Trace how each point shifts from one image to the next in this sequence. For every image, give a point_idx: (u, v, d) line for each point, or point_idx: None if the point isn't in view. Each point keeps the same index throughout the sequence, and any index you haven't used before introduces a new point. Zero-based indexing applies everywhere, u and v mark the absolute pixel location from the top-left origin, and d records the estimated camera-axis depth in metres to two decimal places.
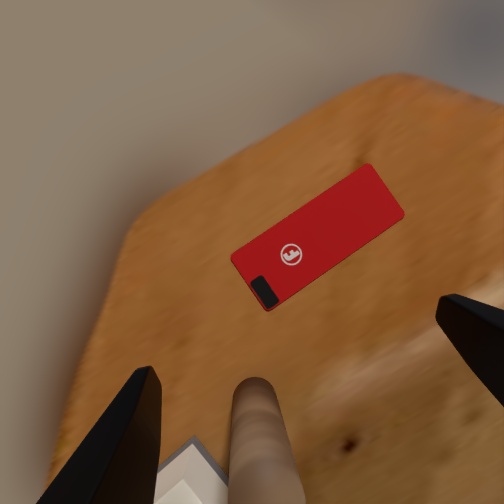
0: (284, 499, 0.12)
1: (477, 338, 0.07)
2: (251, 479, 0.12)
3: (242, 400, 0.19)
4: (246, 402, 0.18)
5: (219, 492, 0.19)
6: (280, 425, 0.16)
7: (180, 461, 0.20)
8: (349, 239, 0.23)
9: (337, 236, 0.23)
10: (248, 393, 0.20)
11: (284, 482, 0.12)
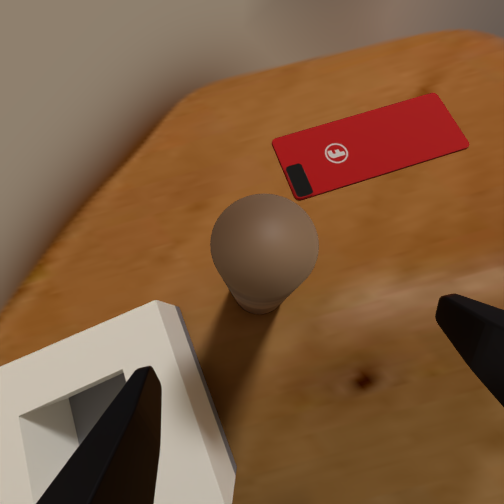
0: (290, 240, 0.09)
1: (477, 338, 0.07)
2: (253, 205, 0.09)
3: None
4: None
5: (188, 361, 0.15)
6: None
7: None
8: (402, 153, 0.21)
9: (390, 148, 0.21)
10: None
11: (295, 221, 0.09)
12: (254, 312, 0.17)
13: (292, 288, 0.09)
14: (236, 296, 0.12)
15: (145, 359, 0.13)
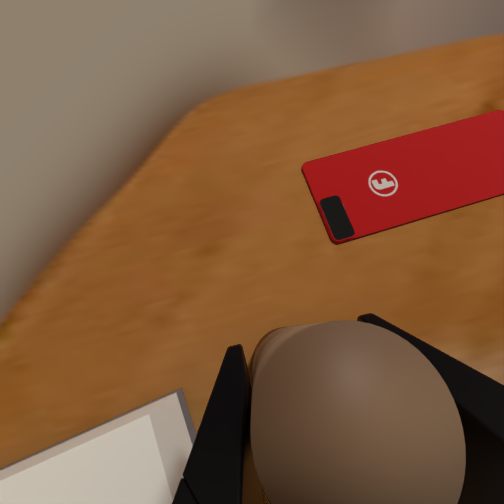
0: (407, 427, 0.05)
1: None
2: (330, 346, 0.05)
3: (280, 328, 0.12)
4: None
5: None
6: None
7: (150, 406, 0.12)
8: (467, 186, 0.17)
9: (450, 178, 0.17)
10: None
11: (413, 383, 0.05)
12: None
13: None
14: None
15: None
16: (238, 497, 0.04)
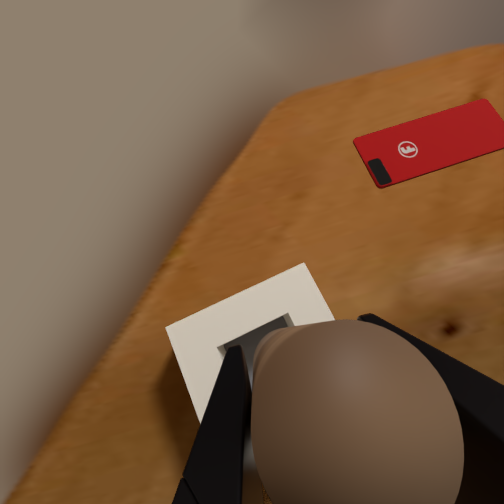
0: (405, 425, 0.05)
1: None
2: (330, 344, 0.05)
3: (280, 329, 0.12)
4: None
5: None
6: None
7: None
8: (463, 149, 0.26)
9: (452, 144, 0.26)
10: None
11: (412, 381, 0.05)
12: None
13: None
14: None
15: (303, 305, 0.17)
16: (238, 497, 0.04)
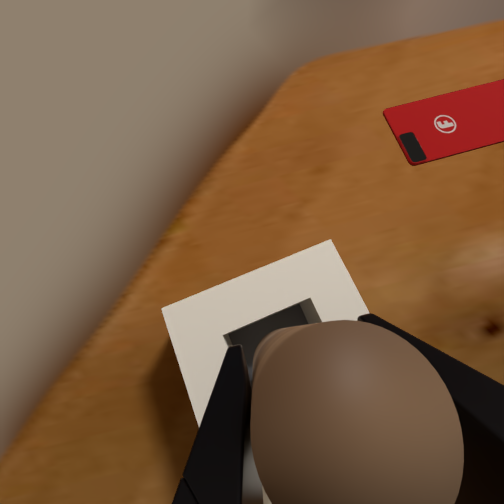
0: (405, 426, 0.05)
1: None
2: (329, 345, 0.05)
3: (280, 329, 0.12)
4: None
5: None
6: None
7: None
8: None
9: (495, 121, 0.23)
10: None
11: (412, 381, 0.05)
12: None
13: None
14: None
15: (329, 289, 0.14)
16: (238, 497, 0.04)
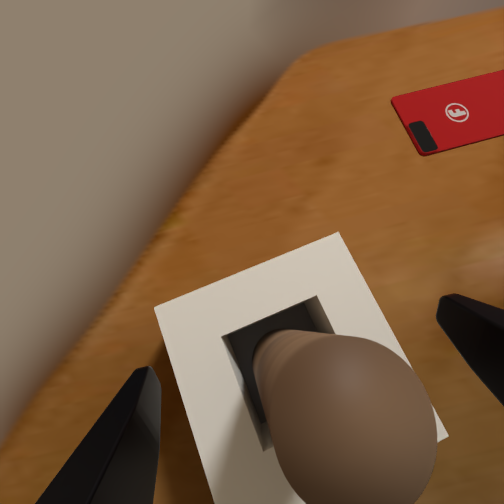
0: (393, 421, 0.06)
1: (478, 338, 0.07)
2: (334, 357, 0.06)
3: (280, 332, 0.13)
4: (288, 330, 0.12)
5: None
6: None
7: None
8: None
9: None
10: (288, 329, 0.13)
11: (399, 386, 0.06)
12: None
13: None
14: None
15: (337, 286, 0.13)
16: None
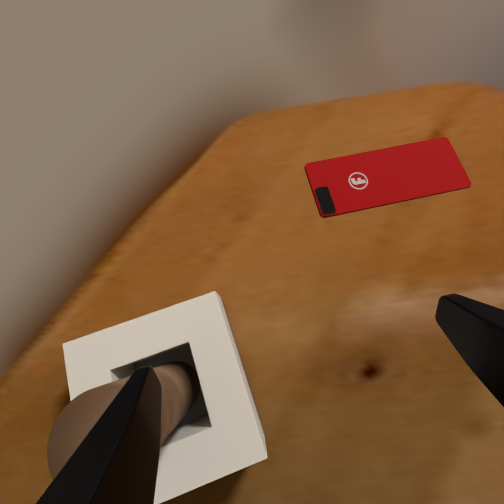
0: None
1: (477, 338, 0.07)
2: (97, 399, 0.10)
3: (154, 367, 0.17)
4: (156, 367, 0.16)
5: (233, 341, 0.19)
6: (174, 393, 0.14)
7: None
8: (414, 186, 0.25)
9: (403, 181, 0.26)
10: (164, 365, 0.17)
11: None
12: None
13: None
14: None
15: (206, 335, 0.17)
16: None
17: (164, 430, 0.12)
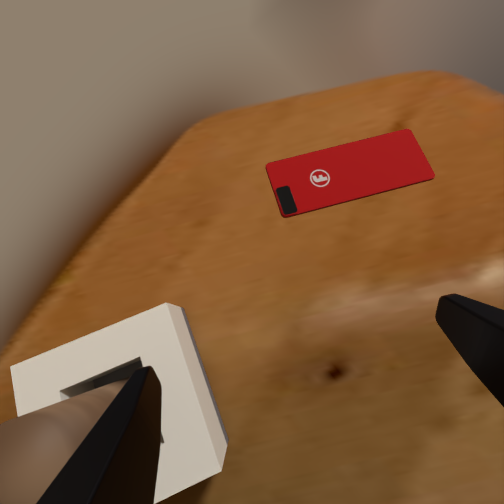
0: (39, 473, 0.09)
1: (477, 338, 0.07)
2: (14, 430, 0.10)
3: None
4: (106, 385, 0.16)
5: (191, 352, 0.19)
6: None
7: None
8: (376, 181, 0.25)
9: (366, 175, 0.25)
10: (118, 381, 0.17)
11: (50, 450, 0.10)
12: None
13: None
14: None
15: (158, 349, 0.17)
16: None
17: None
